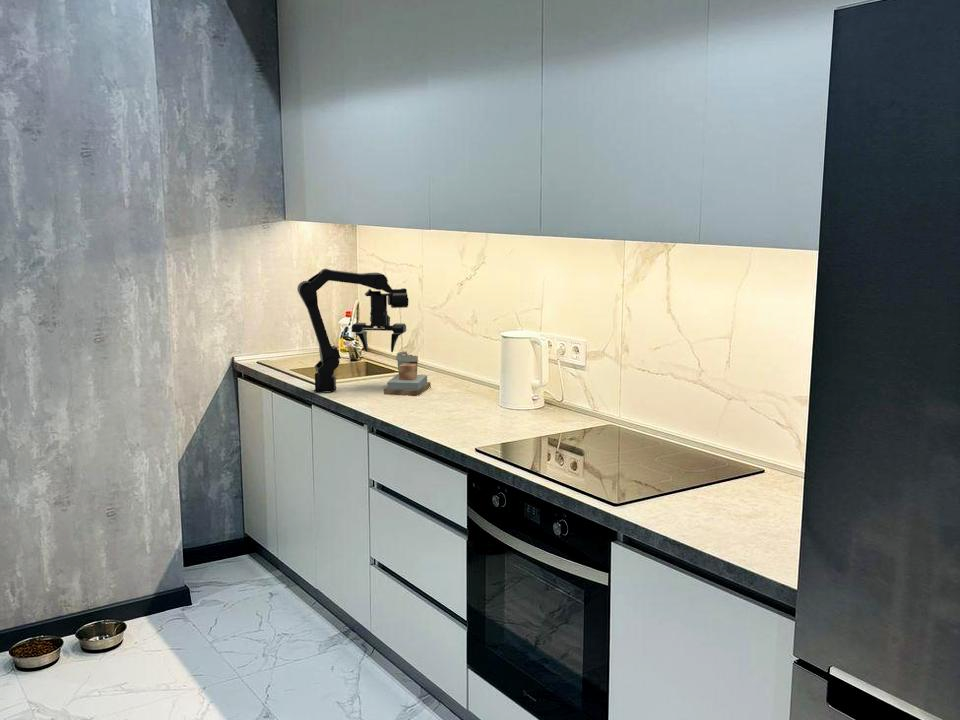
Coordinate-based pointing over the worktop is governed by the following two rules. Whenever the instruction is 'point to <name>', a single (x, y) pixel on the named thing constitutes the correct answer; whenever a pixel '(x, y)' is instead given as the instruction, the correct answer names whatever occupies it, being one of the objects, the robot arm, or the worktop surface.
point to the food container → (406, 358)
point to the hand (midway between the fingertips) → (379, 351)
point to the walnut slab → (407, 391)
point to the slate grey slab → (407, 383)
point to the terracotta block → (407, 371)
